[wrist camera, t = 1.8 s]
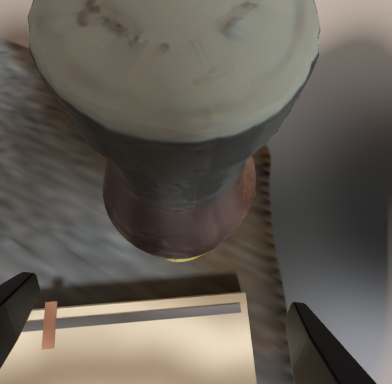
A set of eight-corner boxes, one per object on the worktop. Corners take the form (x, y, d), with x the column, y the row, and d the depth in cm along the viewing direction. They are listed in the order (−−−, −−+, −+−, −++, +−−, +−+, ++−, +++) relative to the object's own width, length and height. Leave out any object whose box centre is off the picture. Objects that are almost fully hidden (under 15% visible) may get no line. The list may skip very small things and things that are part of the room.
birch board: (259, 446, 18) (266, 462, 17) (-15, 479, 17) (-34, 499, 16) (240, 284, 21) (244, 285, 20) (7, 304, 20) (-8, 306, 19)
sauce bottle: (132, 206, 23) (-123, -120, 4) (198, 179, 24) (249, -188, 5) (160, 280, 21) (-43, 324, 2) (230, 247, 22) (497, 89, 3)
